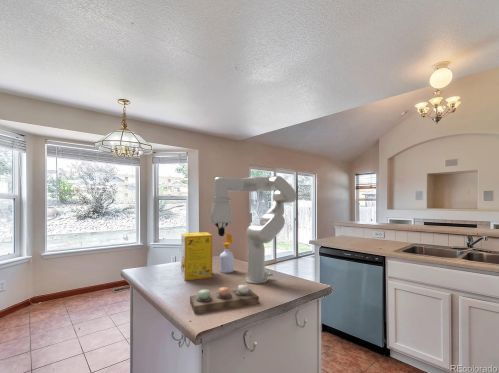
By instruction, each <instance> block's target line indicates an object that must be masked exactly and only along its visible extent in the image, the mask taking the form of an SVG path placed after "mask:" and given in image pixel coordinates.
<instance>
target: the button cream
mask: <svg viewBox="0 0 499 373" xmlns="http://www.w3.org/2000/svg"><path fill="white" fill-rule="evenodd" d="M249 289H250V286H249V285H248V284H239V285H238V286H237V290H238V292H239V293H248V292H249Z"/></svg>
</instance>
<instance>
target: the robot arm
mask: <svg viewBox="0 0 499 373" xmlns="http://www.w3.org/2000/svg"><path fill="white" fill-rule="evenodd" d="M213 183H214V184H213V193H214V194H213V195H214V196H213V199H214V200H213V203H212V205H211V215H210V219H211V223H210V224H211V225H212V226H215V227H216V228H217V234H218V235H219V236H220V237H224V235H225V233H226V231H225V229H226V227H227V226H229V225H231V224H232V210H231V204H230V203H229V202H231V201H232V198H229V193H231V192H233V193H234V192H237V193H239V192H248V193H249V192H250V193H251V192H253V193H255V192H271V191H274V192H273V193H272V205H271V207H270V208H269V209H268V210H267V211H266V212H265V213H264V214H263V215H262V216H261V217H260V219H259V224H258V223H257V224H251V225H249V226H248V227H247V229H246V232H245V235H246V240H247V276H246V277H245V279H244V280H245V282H247V283H249V284H254V285H255V284H256V285H257V284H258V285H259V284H265V283H267V282H268V280H269V279H268V277H273V275H274V274H273V272H268V271H267V272H266V269H265V268H266V266H265V265H266V264H265V263H266V261H265V260H266V259H265V257H266V255H265V254H266V253H265V252H266V251H265V250H266V249H265V244H268V243H270V242H272V241H273V239H275V238H276V237H277V235H278V234H279V233H280V232H281V231H282V230H283V229H284V226H285V222H286V221H285V220H286V219H285V217H284V214H285V204H291V203H294V202H295V201H296V200H297V197H298V196H297V195H298V194H297V191H296V190H295V189H294V187H292V185H291V184H290V183H289V182H288V181H287V180H286V179H285V178H284V177H282V176H280V175H275V176H250V177H245V178H239V177H224V176H223V177H215V178H214V180H213Z"/></svg>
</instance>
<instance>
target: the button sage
mask: <svg viewBox="0 0 499 373" xmlns="http://www.w3.org/2000/svg"><path fill="white" fill-rule="evenodd" d="M197 293H198V294H197V295H198V298H199V299H207V298H209V297H210V290H209V289H204V288H203V289H201V290H198V292H197Z"/></svg>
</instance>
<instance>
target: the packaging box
mask: <svg viewBox="0 0 499 373" xmlns="http://www.w3.org/2000/svg"><path fill="white" fill-rule="evenodd" d="M180 235H181V238H180V240H181V242H180V243H181V244H180V245H181V246H180V251H181V252H180V254H181V255H180V275H181V276H182V279H183V281H191V280H202V279H209V278H213V235H212V234H211V233H209V232H207V231H206V232H204V231H203V232H187V233H186V232H185V233H183V232H182V233H181V234H180Z"/></svg>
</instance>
